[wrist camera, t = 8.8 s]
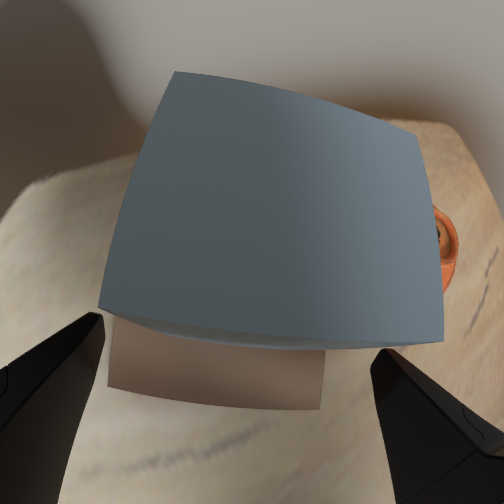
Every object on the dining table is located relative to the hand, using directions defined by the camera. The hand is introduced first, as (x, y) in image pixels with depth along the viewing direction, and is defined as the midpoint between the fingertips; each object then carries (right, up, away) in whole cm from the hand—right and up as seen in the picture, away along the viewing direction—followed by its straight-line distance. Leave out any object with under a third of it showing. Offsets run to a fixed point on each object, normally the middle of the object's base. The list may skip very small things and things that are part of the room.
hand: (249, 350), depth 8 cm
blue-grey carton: (-1, 0, +8) cm, 8 cm away
